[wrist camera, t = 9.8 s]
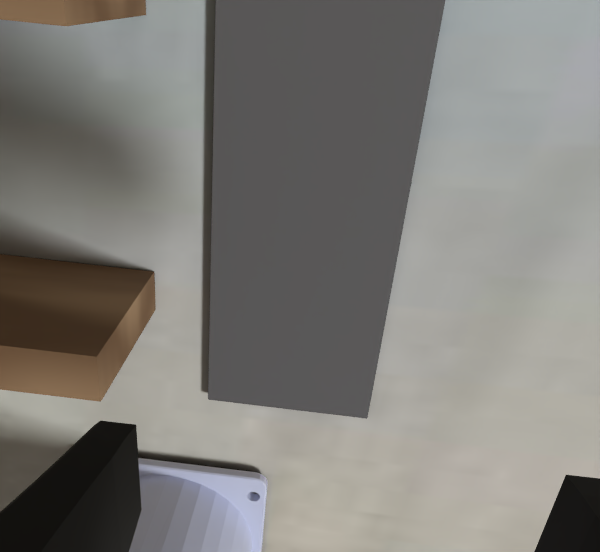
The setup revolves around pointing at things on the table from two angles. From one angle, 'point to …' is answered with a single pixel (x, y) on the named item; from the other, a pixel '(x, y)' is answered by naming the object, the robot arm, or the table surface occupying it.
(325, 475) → the table surface
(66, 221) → the table surface
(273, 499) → the table surface
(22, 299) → the channel
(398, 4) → the strip
